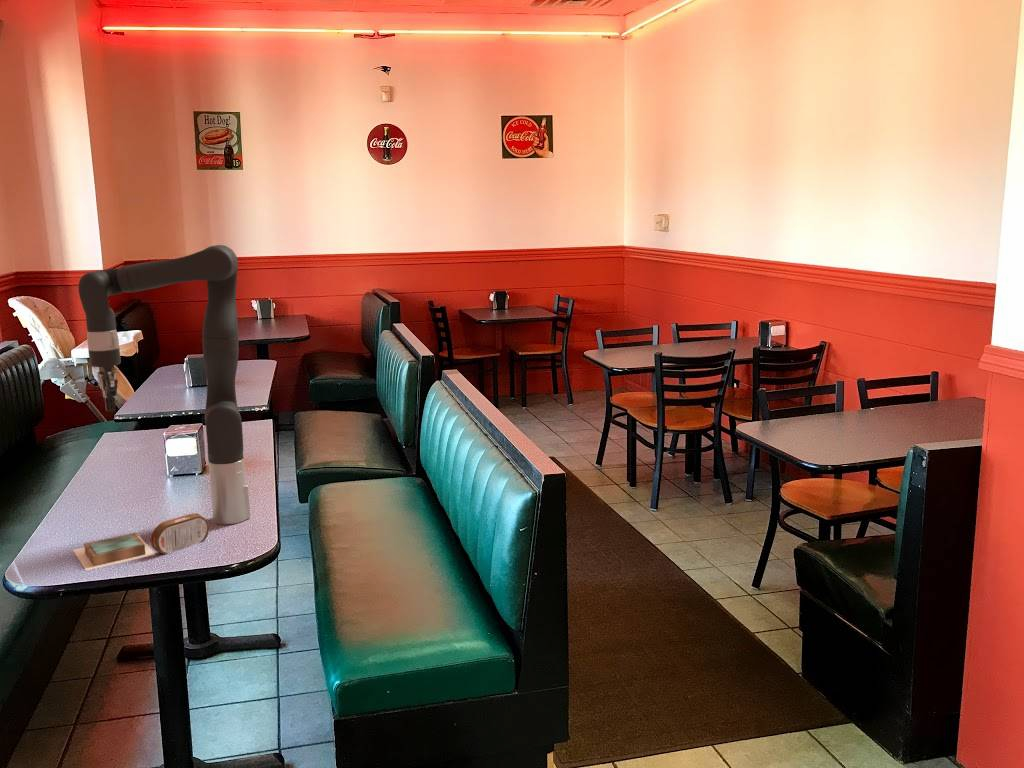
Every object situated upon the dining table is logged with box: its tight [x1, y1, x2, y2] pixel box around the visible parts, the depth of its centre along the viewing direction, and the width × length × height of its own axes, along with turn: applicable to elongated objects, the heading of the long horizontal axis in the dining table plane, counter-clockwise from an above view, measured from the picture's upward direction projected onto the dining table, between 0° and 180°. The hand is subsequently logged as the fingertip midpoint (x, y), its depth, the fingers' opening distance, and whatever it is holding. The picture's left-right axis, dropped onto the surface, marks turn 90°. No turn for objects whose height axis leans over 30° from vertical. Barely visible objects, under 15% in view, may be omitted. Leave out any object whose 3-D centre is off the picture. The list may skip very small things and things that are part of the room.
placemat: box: [72, 535, 156, 571], centre depth 224 cm, size 16×16×1 cm
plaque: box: [83, 532, 145, 566], centre depth 222 cm, size 12×3×10 cm
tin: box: [150, 512, 210, 555], centre depth 226 cm, size 15×3×8 cm, turn 141°
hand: (110, 410), depth 239 cm, fingers closed
